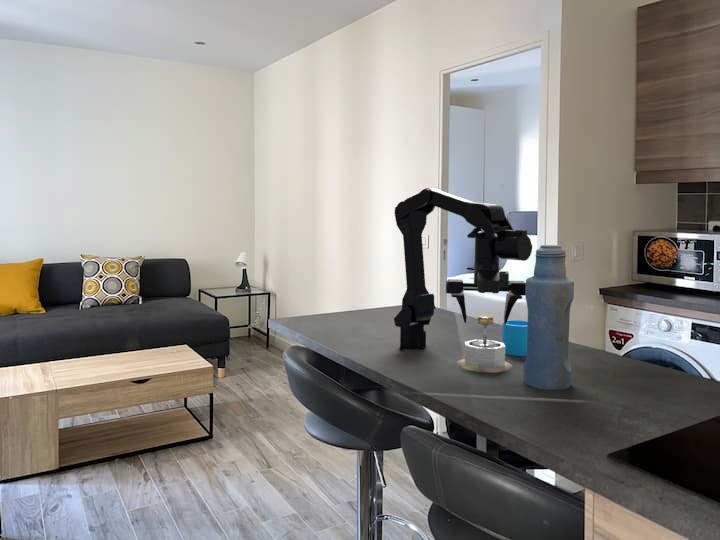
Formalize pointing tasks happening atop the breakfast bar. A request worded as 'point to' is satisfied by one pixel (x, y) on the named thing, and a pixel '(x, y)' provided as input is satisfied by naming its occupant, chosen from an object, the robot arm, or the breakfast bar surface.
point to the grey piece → (484, 356)
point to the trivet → (462, 365)
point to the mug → (515, 337)
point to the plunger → (485, 333)
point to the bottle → (548, 321)
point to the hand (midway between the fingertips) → (485, 323)
